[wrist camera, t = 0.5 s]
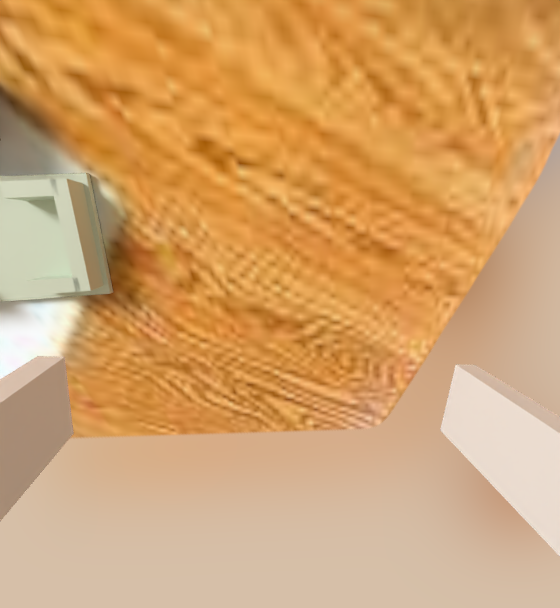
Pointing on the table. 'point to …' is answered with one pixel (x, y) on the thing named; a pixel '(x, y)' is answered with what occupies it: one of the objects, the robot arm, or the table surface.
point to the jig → (50, 238)
